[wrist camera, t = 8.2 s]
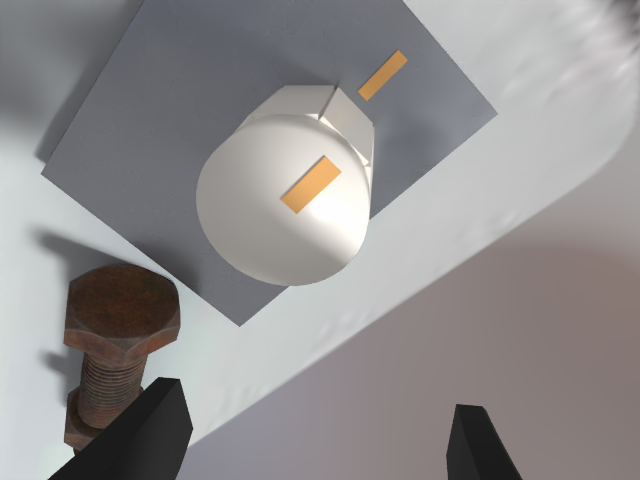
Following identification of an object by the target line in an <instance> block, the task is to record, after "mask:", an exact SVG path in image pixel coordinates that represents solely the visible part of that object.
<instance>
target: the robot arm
mask: <svg viewBox="0 0 640 480" xmlns="http://www.w3.org/2000/svg"><path fill="white" fill-rule="evenodd" d="M192 431H193V426H192V422H191V419H190V415H189V411H188V408H187V404H186V400H185V396H184V393H183V389H182V385H181V382H180V379H175V378H164V377H158V378H157V379H156V380H155V381H154V382H153V383H151V384H150V385H149V386H148V387H147V388H146V389H145V390H144V391H143V392H142V393H141V394H140V395H139V396H138V397H137V398H136V399H135V400H134V401H133V402H132V403H131V404H130V405H129V406H128V407H127V408H126V409H125V410H124V411H122V412H121V413H120V414H119V415H118V416H117V417H116V418H115V419H114V420H113V421H112V422H111V423H110V424H109V425H108V426H107V427H106V428H105V429H104V430H102V431H101V432H100V433H99V434H98V435H97V436H96V437H95V438H94V439H93V440H92V441H91V442H90V443H88V444H87V445H86V446H85V447H84V448H83V449H82V450H81V451H80V452H79V453H77V454H76V455H75V456H74V457H73V458H72V459H71V460H69V461H68V462H67V463H66V464H65V465H64V466H63V467H61V468H60V469H59V470H58V471H57V472H56V473H54V474H53V475H52V476H51V477H50V478H49V479H48V480H175V479H176V476H177V474H178V472H179V470H180V467H181V464H182V461H183V459H184V456H185V453H186V450H187V447H188V443H189V440H190V437H191V434H192ZM446 457H447V471H448V480H522V478H521V476H520V474H519V473H518V471H517V469H516V467H515V466H514V464H513V462H512V460H511V458H510V456H509V455H508V453H507V451H506V449H505V447H504V446H503V444H502V442H501V440H500V438H499V436H498V434H497V432H496V430H495V428H494V426H493V424H492V422H491V420H490V418H489V416H488V414H487V412H486V410H485V409H484V408H483V407H482V406H472V405H461V404H456V408H455V414H454V419H453V424H452V429H451V434H450V439H449V444H448V449H447V455H446Z"/></svg>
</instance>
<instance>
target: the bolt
mask: <svg viewBox="0 0 640 480" xmlns="http://www.w3.org/2000/svg"><path fill="white" fill-rule="evenodd" d="M179 329H180V305H179V295H178V291H177V288H176V286H175V285H174V284H172V283H171V282H170V281H169V280H167V279H166V278H164V277H163V276H161V275H159V274H157V273H154V272H152V271H150V270H148V269H145V268H142V267H138V266H133V265H118V264H115V265H107V266H103V267H99V268H96V269H93V270H91V271H89V272H87V273H85V274H83V275H81V276H79V277H78V278H76V279H74V280H73V281H71V282H70V284H69V291H68V300H67V309H66V320H65V332H64V344H65V345H68V346H70V347H73V348H76V349H78V350H81V351H83V352H84V358H83V364H82V372H81V382H80V386H79V387H77V388H76V389H74V390H73V391H72V392H70V393H69V394H68V400H67V411H66V422H65V433H64V443H66V444H68V445H69V446H71V447H73V451H74V454H75V455H76V454H77V453H79V452H80V451H81V450H82V449H83V448H84V447H85V446H86V445H87V444H88V443H90V442H91V441H92V440H93V439H94V438H95V437H96V436H97V435H98V434H99V433H100V432H101V431H102V430H104V429H105V428H106V427H107V426H108V425H109V424H110V423H111V422H112V421H113V420H114V419H115V418H116V417H117V416H118V415H119V414H120V413H121V412H122V411H124V410H125V409H126V408H127V407H128V406H129V405H130V404H131V403H132V402H133V401H134V400H135V399H136V398H137V397H138V396H139V395H140V394H141V393H142V392H143V391H144V390H143V388H142V387H140V385H141V381H142V376H143V372H144V368H145V365H146V361H147V357H148V354H150V353H152V352H154V351H156V350H158V349H160V348H162V347H164V346H165V345H167V344H169V343H171V342H173V341H175V340H177V336H178V333H179Z"/></svg>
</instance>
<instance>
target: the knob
mask: <svg viewBox="0 0 640 480" xmlns="http://www.w3.org/2000/svg"><path fill="white" fill-rule="evenodd" d="M373 150H374V127H373V123H372V122H371V121H370V120H369V119H368V117H367V116H366V115H365V114H364V113H363V112H362V111H361V110H360V109H359V108H358V107H357V106H356V105H355V104H354V103H353V102H352V101H351V100H350V99H349V98H348V97H347V96H346V95H345V93H344V92H343V91H342V90H341V89H340V88H339V87H338V88H337V89H336V90H335V91H334V85H285V86H284V87H283V88H282V87H281V88H280V89H279V90H277V91H276V92H275V93H274V94H273V95H272V96H271V97H269V98H268V99H267V100H266V101H265V102H264V103H262V104H261V105H260V106H259V107H258V108H257V109H256V110H254V111H253V112H252V113H251V114H250V115H249V116H248V117H247V118H246V119H245V120H244V121H243V123H242V124H241V125H240V126H239V127H238V129H237V130H236V131H235V132H234V133H233V134H232V135H231V136H230V137H229V138H228V139H227V140H226V141H225V142H224V143H223V144H221V145H220V146H219V147H218V148H217V149H216V150H215V151H214V152H213V153H212V154H211V156H210V157H209V159H208V160H207V161H206V163H205V165H204V167H203V169H202V171H201V173H200V176H199V179H198V184H197V190H196V206H197V213H198V217H199V221H200V223H201V226H202V229H203V231H204V233H205V235H206V237H207V238H208V240H209V242H210V243H211V244H212V246H213V247H214V249H215V250H216V251H217V252H218V253H219V254H220V255H221V257H223V258H224V259H225V260H226V261H227V262H228V263H229V264H231V265H232V266H233V267H235V268H236V269H237V270H239V271H241V272H243V273H244V274H246V275H248V276H250V277H252V278H255V279H257V280H260V281H263V282H266V283H271V284H275V285H284V286H299V285H307V284H312V283H316V282H319V281H322V280H324V279H327V278H329V277H331V276H333V275H334V274H336V273H337V272H339V271H340V270H342V269H343V268H344V267H345V266H346V265H347V264H348V263H349V262H350V261H351V260H352V259H353V258H354V256H355V255H356V253H357V252H358V250H359V249H360V247H361V245H362V242H363V240H364V237H365V233H366V229H367V223H369V214H370V201H371V188H372V175H373Z"/></svg>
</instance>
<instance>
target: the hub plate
mask: <svg viewBox="0 0 640 480" xmlns="http://www.w3.org/2000/svg"><path fill="white" fill-rule="evenodd" d="M285 85H334V91H335V90H336V89H337V88H338V87H339V88H340V89H341V90H342V91H343V92H344V93H345V95H346V96H347V97H348V98H349V99H350V100H351V101H352V102H353V103H354V104H355V105H356V106H357V107H358V108H359V109H360V110H361V111H362V112H363V113H364V114H365V115H366V116H367V117H368V119H369V120H370V121H371V122H372V123H373V127H374V150H373V175H372V188H371V201H370V214H369V220H370V219H371V218H372V217H374V216H375V215H376V214H377V213H379V212H380V211H381V210H382V209H383V208H385V207H386V206H387V205H388V204H389V203H391V202H392V201H393V200H394V199H395V198H397V197H398V196H399V195H400V194H402V193H403V192H404V191H405V190H406V189H408V188H409V187H410V186H411V185H412V184H414V183H415V182H416V181H417V180H419V179H420V178H421V177H422V176H423V175H425V174H426V173H427V172H428V171H429V170H431V169H432V168H433V167H434V166H436V165H437V164H438V163H439V162H440V161H442V160H443V159H444V158H445V157H446V156H448V155H449V154H450V153H451V152H453V151H454V150H455V149H456V148H457V147H459V146H460V145H461V144H462V143H463V142H465V141H466V140H467V139H468V138H470V137H471V136H472V135H473V134H474V133H476V132H477V131H478V130H479V129H480V128H482V127H483V126H484V125H485V124H486V123H488V122H489V121H490V120H491V119H493V118H494V117H495V116H496V115H497V114H498V113H497V112H496V111H495V109H494V108H493V107H492V106H491V105H490V103H489V102H488V101H487V100H486V99H485V98H484V96H483V95H482V94H481V93H480V92H479V90H478V89H477V88H476V87H475V86H474V85H473V83H472V82H471V81H470V80H469V79H468V77H467V76H466V75H465V74H464V73H463V72H462V70H461V69H460V68H459V67H458V66H457V64H456V63H455V62H454V61H453V60H452V59H451V57H450V56H449V55H448V54H447V53H446V51H445V50H444V49H443V48H442V47H441V46H440V44H439V43H438V42H437V41H436V40H435V38H434V37H433V36H432V35H431V34H430V33H429V31H428V30H427V29H426V28H425V27H424V25H423V24H422V23H421V22H420V21H419V20H418V18H417V17H416V16H415V15H414V14H413V12H412V11H411V10H410V9H409V8H408V7H407V5H406V4H405V3H404V2H403V1H402V0H144V2H143V3H142V5H141V7H140V8H139V10H138V12H137V13H136V15H135V17H134V18H133V20H132V22H131V23H130V25H129V27H128V28H127V30H126V32H125V33H124V35H123V37H122V38H121V40H120V42H119V43H118V45H117V47H116V48H115V50H114V52H113V53H112V55H111V57H110V58H109V60H108V62H107V63H106V65H105V67H104V68H103V70H102V72H101V74H100V75H99V77H98V79H97V80H96V82H95V84H94V85H93V87H92V89H91V90H90V92H89V94H88V95H87V97H86V99H85V100H84V102H83V104H82V105H81V107H80V109H79V110H78V112H77V114H76V115H75V117H74V119H73V120H72V122H71V124H70V125H69V127H68V129H67V130H66V132H65V134H64V135H63V137H62V139H61V140H60V142H59V144H58V145H57V147H56V149H55V150H54V152H53V154H52V156H51V157H50V159H49V161H48V162H47V164H46V166H45V167H44V169H43V171H42V172H41V175H43V176H44V177H45V178H47V179H48V180H49V181H51V182H52V183H53V184H54V185H56V186H57V187H58V188H60V189H61V190H62V191H64V192H65V193H66V194H67V195H69V196H70V197H71V198H73V199H74V200H75V201H77V202H78V203H79V204H80V205H82V206H83V207H84V208H86V209H87V210H88V211H90V212H91V213H92V214H93V215H95V216H96V217H97V218H99V219H100V220H101V221H103V222H104V223H105V224H106V225H108V226H109V227H110V228H112V229H113V230H114V231H116V232H117V233H118V234H119V235H121V236H122V237H123V238H125V239H126V240H127V241H129V242H130V243H131V244H132V245H134V246H135V247H136V248H138V249H139V250H140V251H142V252H143V253H144V254H145V255H147V256H148V257H149V258H151V259H152V260H153V261H155V262H156V263H157V264H158V265H160V266H161V267H162V268H164V269H165V270H166V271H168V272H169V273H170V274H171V275H173V276H174V277H175V278H177V279H178V280H179V281H181V282H182V283H183V284H184V285H186V286H187V287H188V288H190V289H191V290H192V291H194V292H195V293H196V294H197V295H199V296H200V297H201V298H203V299H204V300H205V301H207V302H208V303H209V304H210V305H212V306H213V307H214V308H216V309H217V310H218V311H220V312H221V313H222V314H223V315H225V316H226V317H227V318H229V319H230V320H231V321H233V322H234V323H235V324H236V325H238V326H239V327H240V326H241V325H243V324H244V323H245V322H246V321H247V320H249V319H250V318H251V317H252V316H254V315H255V314H256V313H257V312H258V311H260V310H261V309H262V308H263V307H264V306H266V305H267V304H268V303H269V302H271V301H272V300H273V299H274V298H275V297H277V296H278V295H279V294H280V293H281V292H283V291H284V290H285V289H286V288H288V287H289V286H284V285H275V284H271V283H266V282H263V281H260V280H257V279H255V278H252V277H250V276H248V275H246V274H244V273H243V272H241V271H239V270H237V269H236V268H235V267H233V266H232V265H231V264H229V263H228V262H227V261H226V260H225V259H224V258H223V257H221V255H220V254H219V253H218V252H217V251H216V250H215V249H214V247H213V246H212V244H211V243H210V242H209V240H208V238H207V237H206V235H205V233H204V231H203V229H202V226H201V223H200V221H199V217H198V213H197V206H196V190H197V184H198V179H199V176H200V173H201V171H202V169H203V167H204V165H205V163H206V161H207V160H208V159H209V157H210V156H211V154H212V153H213V152H214V151H215V150H216V149H217V148H218V147H219V146H220V145H221V144H223V143H224V142H225V141H226V140H227V139H228V138H229V137H230V136H231V135H232V134H233V133H234V132H235V131H236V130H237V129H238V127H239V126H240V125H241V124H242V123H243V121H244V120H245V119H246V118H247V117H248V116H249V115H250V114H251V113H252V112H253V111H254V110H256V109H257V108H258V107H259V106H260V105H261V104H262V103H264V102H265V101H266V100H267V99H268V98H269V97H271V96H272V95H273V94H274V93H275V92H276V91H277V90H279V89H280V88H281V87H282V88H283V87H284V86H285Z"/></svg>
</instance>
